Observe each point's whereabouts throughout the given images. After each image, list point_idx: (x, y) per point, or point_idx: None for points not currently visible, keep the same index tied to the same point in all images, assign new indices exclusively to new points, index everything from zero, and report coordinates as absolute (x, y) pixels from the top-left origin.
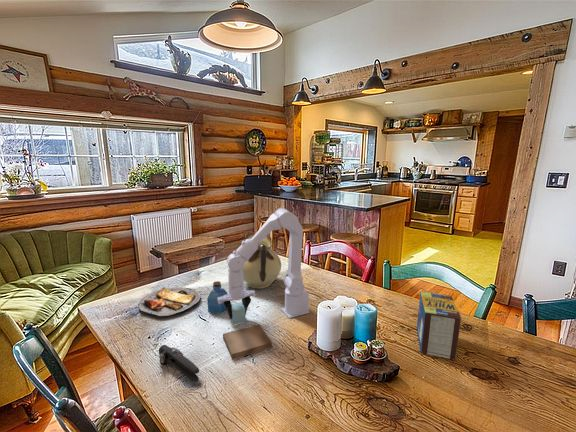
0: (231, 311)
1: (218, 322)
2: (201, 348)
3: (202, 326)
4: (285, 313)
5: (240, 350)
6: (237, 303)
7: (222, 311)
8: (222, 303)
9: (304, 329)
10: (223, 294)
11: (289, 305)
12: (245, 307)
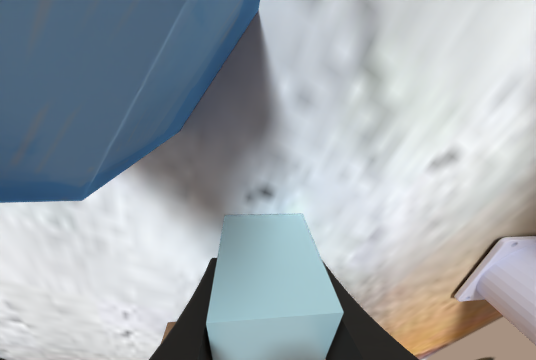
0: (212, 358)
1: (148, 225)
2: (78, 342)
3: (36, 227)
4: (473, 276)
5: None
6: (299, 320)
7: (181, 124)
8: (151, 135)
9: (428, 339)
10: (88, 30)
11: (534, 340)
12: (329, 355)
